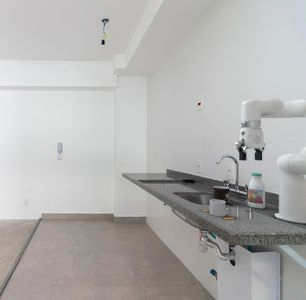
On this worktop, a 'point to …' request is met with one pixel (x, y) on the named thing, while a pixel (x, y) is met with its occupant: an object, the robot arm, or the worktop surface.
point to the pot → (217, 207)
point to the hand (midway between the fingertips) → (250, 160)
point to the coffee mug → (221, 193)
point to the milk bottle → (256, 192)
